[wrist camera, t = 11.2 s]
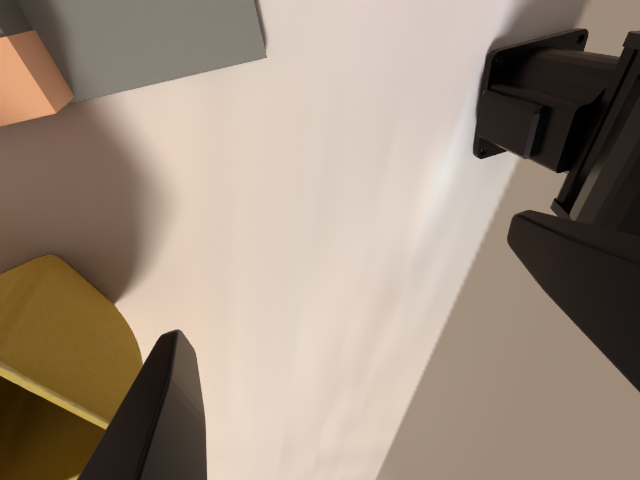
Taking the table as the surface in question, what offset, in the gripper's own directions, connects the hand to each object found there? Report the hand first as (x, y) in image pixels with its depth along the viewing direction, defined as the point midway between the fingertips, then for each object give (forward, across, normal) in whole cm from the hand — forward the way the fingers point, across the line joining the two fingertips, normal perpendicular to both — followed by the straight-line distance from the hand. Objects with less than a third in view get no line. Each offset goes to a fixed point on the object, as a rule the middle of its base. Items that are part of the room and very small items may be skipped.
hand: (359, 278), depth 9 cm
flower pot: (+12, +15, +6) cm, 20 cm away
